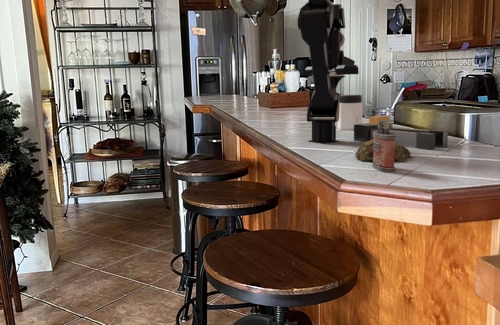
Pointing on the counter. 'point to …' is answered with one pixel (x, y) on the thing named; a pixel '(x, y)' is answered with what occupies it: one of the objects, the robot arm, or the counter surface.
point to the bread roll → (368, 147)
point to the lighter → (384, 147)
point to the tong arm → (440, 135)
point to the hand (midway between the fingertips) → (330, 98)
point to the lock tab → (378, 119)
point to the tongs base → (402, 138)
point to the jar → (350, 111)
